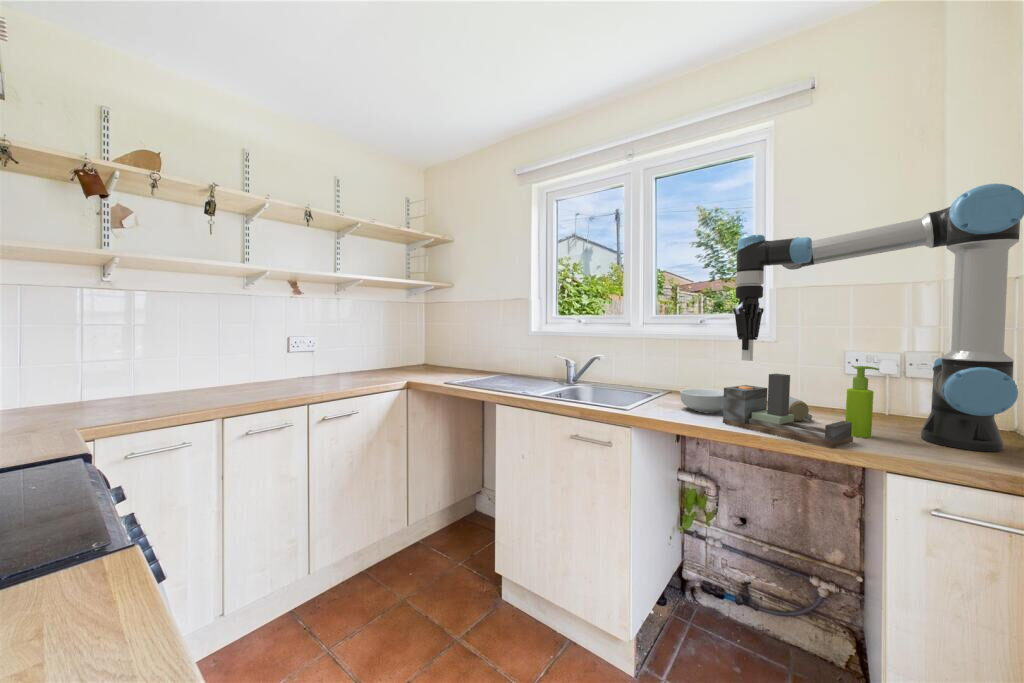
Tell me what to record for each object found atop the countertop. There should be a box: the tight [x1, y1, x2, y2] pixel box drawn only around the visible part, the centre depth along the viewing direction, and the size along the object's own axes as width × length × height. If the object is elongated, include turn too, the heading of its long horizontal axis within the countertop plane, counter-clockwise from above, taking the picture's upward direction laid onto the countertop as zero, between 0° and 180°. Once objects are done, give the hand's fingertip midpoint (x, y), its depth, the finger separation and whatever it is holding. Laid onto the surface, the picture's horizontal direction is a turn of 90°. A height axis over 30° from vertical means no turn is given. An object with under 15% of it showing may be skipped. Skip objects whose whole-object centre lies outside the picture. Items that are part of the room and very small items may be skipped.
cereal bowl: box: [679, 388, 724, 414], centre depth 153 cm, size 17×17×7 cm
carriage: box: [752, 373, 795, 425], centre depth 126 cm, size 8×8×14 cm
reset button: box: [738, 385, 753, 390], centre depth 134 cm, size 4×4×3 cm
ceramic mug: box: [789, 395, 813, 422], centre depth 140 cm, size 11×8×8 cm
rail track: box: [722, 384, 854, 449], centre depth 124 cm, size 30×12×12 cm, turn 30°
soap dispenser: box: [845, 365, 880, 439], centre depth 120 cm, size 6×7×20 cm
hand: (747, 360), depth 133 cm, fingers closed
